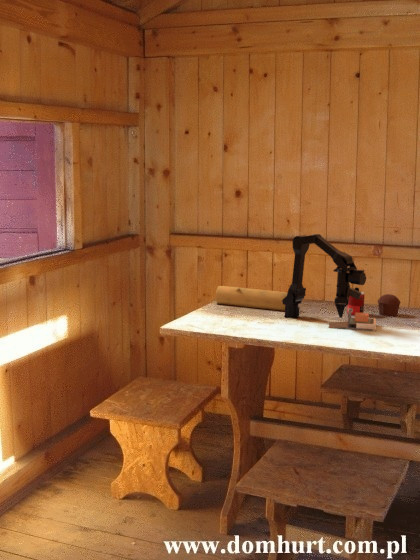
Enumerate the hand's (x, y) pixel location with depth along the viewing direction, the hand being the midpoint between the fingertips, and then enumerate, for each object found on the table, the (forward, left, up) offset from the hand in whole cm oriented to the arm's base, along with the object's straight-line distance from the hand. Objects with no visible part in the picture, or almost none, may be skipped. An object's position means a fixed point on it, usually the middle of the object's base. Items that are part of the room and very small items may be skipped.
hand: (341, 315), depth 370 cm
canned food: (+6, +30, -5) cm, 31 cm away
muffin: (+22, +34, -5) cm, 40 cm away
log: (-46, +33, -5) cm, 57 cm away
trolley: (+8, 0, -4) cm, 9 cm away
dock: (+5, 0, -6) cm, 8 cm away
